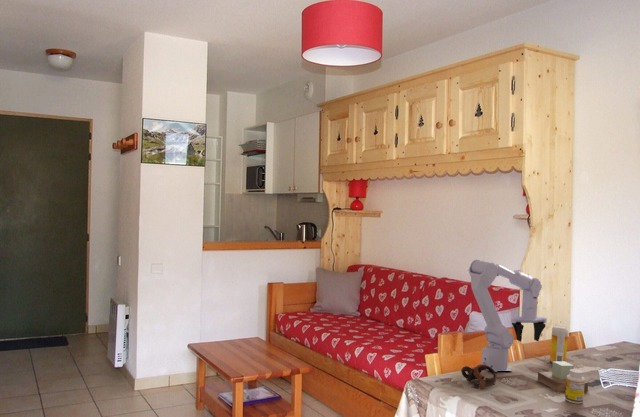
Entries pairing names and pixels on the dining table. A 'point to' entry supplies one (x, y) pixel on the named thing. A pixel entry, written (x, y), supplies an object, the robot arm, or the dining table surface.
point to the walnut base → (555, 381)
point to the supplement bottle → (575, 386)
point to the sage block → (561, 369)
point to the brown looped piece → (479, 375)
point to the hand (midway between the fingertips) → (527, 340)
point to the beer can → (559, 343)
